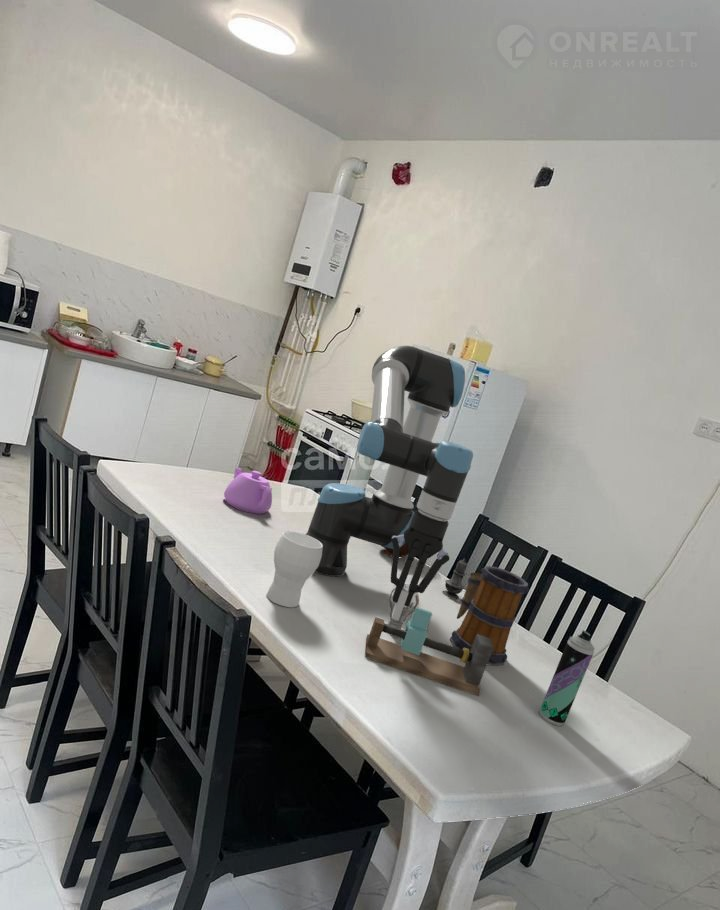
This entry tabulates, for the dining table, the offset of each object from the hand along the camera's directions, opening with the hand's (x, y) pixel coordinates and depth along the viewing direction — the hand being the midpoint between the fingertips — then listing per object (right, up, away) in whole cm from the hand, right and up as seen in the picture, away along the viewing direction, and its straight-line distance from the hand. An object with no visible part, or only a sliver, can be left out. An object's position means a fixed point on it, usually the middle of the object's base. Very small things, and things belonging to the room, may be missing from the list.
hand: (395, 617), depth 147 cm
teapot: (-45, +18, +78) cm, 91 cm away
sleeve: (+3, -7, +1) cm, 8 cm away
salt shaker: (+19, -7, +58) cm, 62 cm away
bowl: (+4, +2, +81) cm, 81 cm away
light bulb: (0, -7, +15) cm, 16 cm away
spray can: (+33, -21, -2) cm, 39 cm away
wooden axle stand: (+6, -11, +1) cm, 12 cm away
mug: (+20, -13, +24) cm, 34 cm away
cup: (-25, +1, +11) cm, 28 cm away
